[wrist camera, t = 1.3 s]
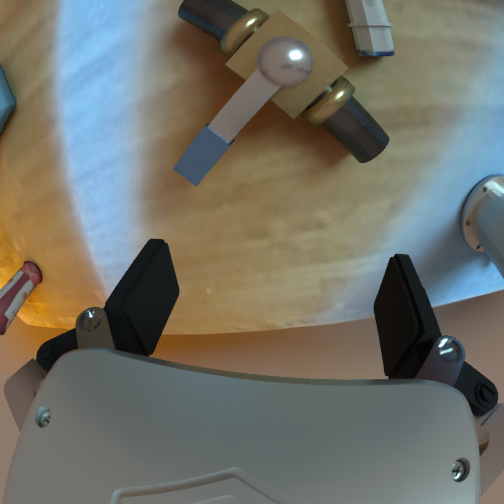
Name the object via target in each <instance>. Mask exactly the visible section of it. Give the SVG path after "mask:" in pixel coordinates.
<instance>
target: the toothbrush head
mask: <svg viewBox="0 0 504 504" xmlns="http://www.w3.org/2000/svg"><path fill="white" fill-rule="evenodd" d="M345 2H346V6H347V10H348V14H349V19H350V24H347V25H348V27H352V31H353V36H354V40H355V45H356V49H357V54H358V55H360V56H394V55H395V54H394V48H393V42H392V37H391V32H390V27H389V26H393V25H392V23H388V19H387V15H386V12H385V9H384V5H383V2H382V0H345Z"/></svg>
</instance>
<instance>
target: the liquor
mask: <svg viewBox="0 0 504 504" xmlns="http://www.w3.org/2000/svg"><path fill="white" fill-rule="evenodd" d="M41 282H42V275H41V271H40V269H39V267H38V266H37V265H36V264H35V263H33V262H29V261H25V262H24V264H23V266H22V267H21V268H20V269H19V271H18V272H17V273H16V274H15V275H14V276H13V277H12V278H11V279H10V280H9V281H8V282H7V284H6V285H5V286H4V287H3V288H2V289H1V290H0V335H4V333H5V332H6V330H7V329H8V327H9V325H10V324H11V322H12V321H13V319H14V317H15V316H16V314H17V313H18V311H19V309H20V308H21V306H22V305H23V303H24V302H25V300H26V299H27V298H28V296H29V295H30V293H31V292H32V291H33V289H34V288H35V287H36V286H37V284H39V283H41Z"/></svg>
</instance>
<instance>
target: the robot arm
mask: <svg viewBox="0 0 504 504" xmlns="http://www.w3.org/2000/svg"><path fill="white" fill-rule="evenodd" d="M461 228H462V234H463V236H464V239H465V240H466V242H467V243H468V245H469V246H470V247H471V248H473V249H474V250H476V251H479V252H486V253H487V255H488V256H489V257H490V259H491V260H492V262H493V263H494V265H495V266H496V268H497V269H498V271H499V272H500V274H501V276H502V277H503V279H504V175H501V174H499V175H492V176H489V177H487V178H485V179H484V180H482V181H481V182H480V183H479V184H478V185H477V186H476V187H475V188H474V189H473V191H472V192H471V194H470V195H469V197H468V199H467V201H466V203H465V206H464V209H463V213H462V218H461ZM178 296H179V286H178V282H177V278H176V274H175V270H174V267H173V263H172V259H171V255H170V251H169V246H168V244H167V243H165V242H164V240H163V239H150V240H149V241H148V242H147V243H146V245H145V246H144V247H143V249H142V250H141V251H140V253H139V254H138V256H137V257H136V258H135V260H134V261H133V263H132V264H131V266H130V267H129V268H128V270H127V271H126V273H125V274H124V276H123V277H122V279H121V280H120V281H119V283H118V284H117V286H116V287H115V289H114V290H113V292H112V293H111V295H110V297H109V298H108V300H107V301H106V303H105V307H104V308H103V309H102V308H100V307H91V308H88V309H86V310H84V311H83V312H82V313H81V314H80V315H79V316H78V318H77V320H76V325H75V327H76V328H74V329H72V330H70V331H68V332H66V333H63V334H61V335H59V336H57V337H55V338H53V339H50V340H48V341H46V342H45V343H43V344H42V345H41V346H40V348H39V350H38V352H37V357H36V360H35V359H34V358H32V359H31V360H30V361H29V362H27V363H26V364H25V365H24V366H23V367H21V368H20V369H19V370H18V371H17V372H16V373H15V374H13V375H12V376H11V377H10V378H9V379H8V380H7V381H6V383H5V386H4V394H5V397H6V399H7V402H8V404H9V407H10V410H11V412H12V415H13V417H14V419H15V422H16V424H17V426H18V428H19V431H20V435H19V437H18V441H17V444H16V447H15V450H14V454H13V457H12V461H11V464H10V468H9V471H8V476H7V481H6V486H5V492H4V497H3V504H480V497H481V496H482V495H483V494H484V493H485V491H486V490H487V489H488V488H489V487H490V486H491V485H492V483H493V482H494V481H495V480H496V478H497V477H498V476H499V475H500V474H501V472H502V471H503V470H504V403H503V405H502V403H500V404H498V403H497V401H498V392H497V389H496V387H495V385H494V384H493V383H492V382H491V381H490V380H489V379H487V378H486V377H485V376H484V375H482V374H481V373H480V372H478V371H477V370H476V369H474V368H473V367H472V366H471V365H469V364H468V363H467V362H465V361H464V360H465V350H464V348H463V345H462V344H461V343H460V341H458V340H457V339H456V338H454V337H452V336H448V335H445V336H442V335H441V332H440V329H439V326H438V323H437V320H436V317H435V315H434V312H433V309H432V307H431V304H430V301H429V299H428V296H427V294H426V291H425V289H424V288H423V287H422V284H421V282H420V280H419V277H418V275H417V273H416V270H415V268H414V266H413V263H412V261H411V259H410V257H409V255H405V254H395V255H394V257H391V258H390V259H389V262H388V265H387V268H386V271H385V274H384V277H383V280H382V283H381V286H380V289H379V291H378V294H377V297H376V300H375V302H374V314H375V319H376V324H377V330H378V335H379V341H380V347H381V352H382V359H383V366H384V373H385V376H388V378H389V379H372V380H371V379H365V380H364V379H362V380H361V379H355V380H345V379H344V380H343V379H341V380H340V379H309V378H292V377H278V376H267V375H257V374H247V373H239V372H231V371H224V370H217V369H211V368H204V367H198V366H191V365H187V364H181V363H176V362H171V361H166V360H161V359H156V358H152V357H149V355H152V354H153V352H154V350H155V348H156V345H157V343H158V341H159V338H160V336H161V334H162V332H163V329H164V327H165V325H166V322H167V320H168V318H169V316H170V314H171V311H172V309H173V307H174V305H175V303H176V300H177V298H178Z"/></svg>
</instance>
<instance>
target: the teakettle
mask: <svg viewBox="0 0 504 504" xmlns="http://www.w3.org/2000/svg"><path fill="white" fill-rule="evenodd" d="M15 107H16V98H15V97H14V96H13V95H12V92H11V90H10V88H9V85H8V83H7V80H6V78H5V72H4V70H2V67H1V65H0V134H1V133H2V131H3V126H4V124H5V122H6V120H7V118H8V116H9V114H10V113H11V111H13V110H14V109H15Z"/></svg>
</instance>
